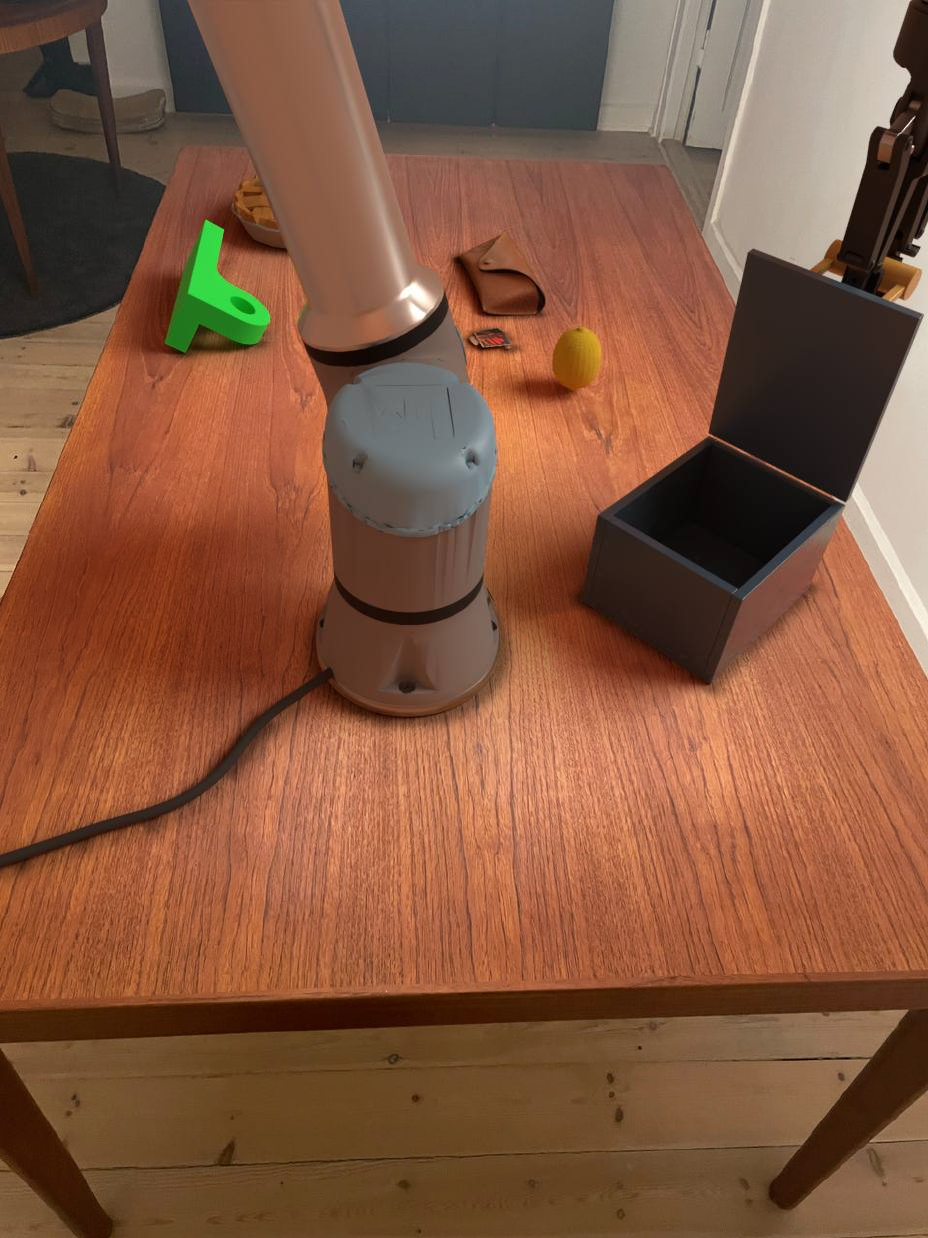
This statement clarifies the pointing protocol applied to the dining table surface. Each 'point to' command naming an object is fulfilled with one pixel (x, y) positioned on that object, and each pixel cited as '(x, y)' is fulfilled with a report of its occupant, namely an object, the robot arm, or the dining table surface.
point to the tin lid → (813, 366)
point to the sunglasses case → (503, 278)
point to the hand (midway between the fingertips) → (847, 335)
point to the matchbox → (490, 338)
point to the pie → (256, 213)
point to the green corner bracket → (213, 299)
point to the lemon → (577, 358)
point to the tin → (707, 555)
